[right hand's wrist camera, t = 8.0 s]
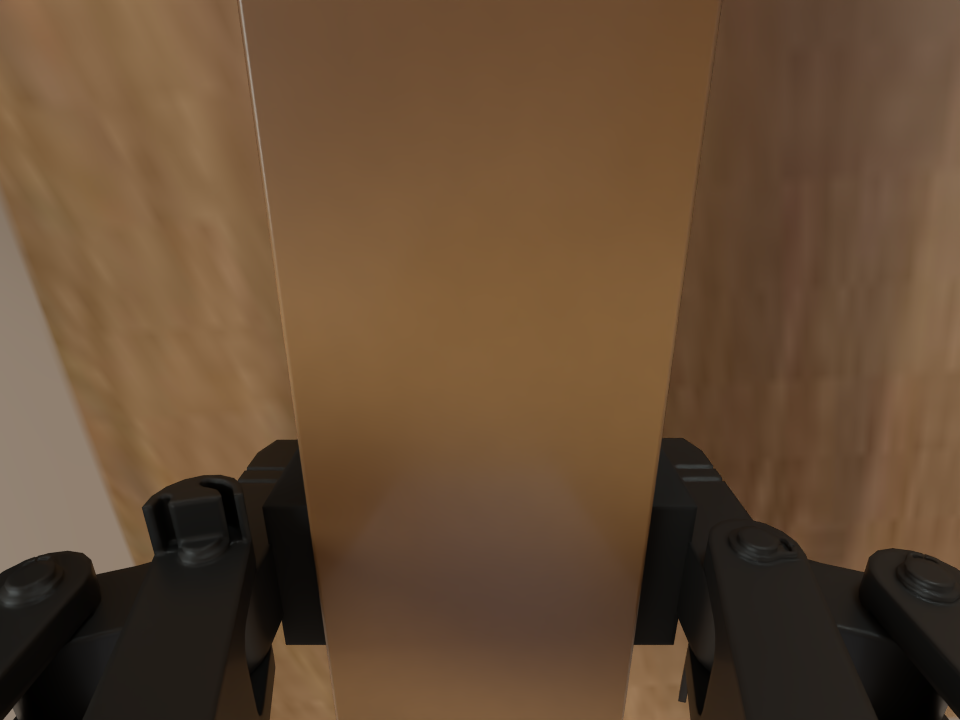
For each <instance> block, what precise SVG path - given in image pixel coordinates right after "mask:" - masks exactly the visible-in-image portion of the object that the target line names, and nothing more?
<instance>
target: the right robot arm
mask: <svg viewBox="0 0 960 720" xmlns="http://www.w3.org/2000/svg"><path fill="white" fill-rule="evenodd" d="M142 510H143V513H144V517H145V521H146V524H147V528H148V532H149V535H150V539H151V543H152V547H153V550H154V554H155V555H154V558H153V560H152V562H149V563H146V564H142V565H139V566H134V567H129V568H125V569H120V570H115V571H111V572H106V573H101V574H97V575H96V573H95V570H94V567H93V564H92V561H91V559H89V558H88V557H87V556H86V555H85V554H83V553H79V552H72V551H62V552H54V553H47V554H44V555H40V556H38V557H33V558H30V559H28V560H25V561H23V562H21V563H19V564H17V565H15V566H13V567H11V568H9V569H7V570H5V571H3V572H2V573H1V574H0V720H3V719H4V718H5V717H6V715H7V714H8V713H9V712H10V711H11V709H12V708H13V710H14V712H15V714H16V717H15V718H14V720H270V711H271V702H272V693H273V684H274V675H275V661H274V654H273V649H272V642H273V640H274V637H275V635H276V632H277V630H278V628H279V625H280V623H281V620H282V625H283V630H284V636H285V642H286V645H326V640H325V633H324V626H323V618H322V611H321V604H320V597H319V589H318V582H317V575H316V568H315V560H314V553H313V546H312V539H311V532H310V524H309V517H308V510H307V503H306V495H305V488H304V481H303V474H302V467H301V459H300V452H299V445H298V440H276V441H275V442H273V443H272V444H270V445H269V446H267V447H266V448H264V449H263V450H261V451H260V452H258V453H257V455H256V456H255V457H254V459H253V460H252V461H251V463H250V464H249V466H248V467H247V471H244V472H243V474H242V475H241V477H240V478H239V479H238V481H237V480H236V479H234V478H231V477H227V476H223V475H203V476H198V477H194V478H189V479H184V480H182V481H180V482H177V483H175V484H172V485H170V486H167V487H165V488H164V489H162V490H161V491H159V492H158V493H156V494H154V495H153V496H151V498H150V499H149V500H148V501H147V502H146V503H145V505H144V506H143V507H142ZM678 619H679V621H680V623H681V626H682V628H683V630H684V633H685V635H686V638H687V640H688V642H689V643H688V649H687V654H686V659H685V665H684V670H683V675H682V681H681V686H680V692H679V699H678V701H680V702H685V703H686V698H687V693H688V701H689V710H690V719H691V720H949V719H948V718H947V717H946V715H945V714H944V713H945V711H946V709H947V706H949V707H950V708H951V709H952V711H953V712H954V713H955V714H956V715H957V717H958V718H959V719H960V571H959V570H958V569H957V568H955V567H952V566H950V565H948V564H946V563H944V562H942V561H940V560H939V559H937V558H934V557H932V556H929V555H926V554H925V555H924V554H922V553H919V552H915V551H910V550H902V549H894V548H891V549H885V550H878V551H876V552H875V553H874V554H873V555H872V556H870V557H869V560H868V563H867V566H866V569H865V572H860V571H856V570H851V569H846V568H842V567H837V566H832V565H828V564H823V563H819V562H815V561H812V560H808V559H807V557H806V554H805V553H804V552H803V550H802V549H801V547H800V546H799V545H798V543H797V542H796V541H794V540H793V539H792V538H790V537H789V536H788V535H786V534H785V533H784V532H782V531H780V530H778V529H776V528H774V527H771V526H769V525H767V524H765V523H761V522H757V521H753V520H752V518H751V517H750V516H749V514H748V513H747V511H746V510H745V509H744V507H743V506H742V505H741V503H740V502H739V501H738V499H737V498H736V496H735V495H734V494H733V492H732V491H731V490H730V488H729V487H728V486H727V484H726V483H725V481H722V477H721V476H720V475H719V473H718V472H717V471H716V469H713V465H712V464H711V462H710V461H709V460H708V458H707V457H706V456H705V454H704V453H703V451H702V450H700V449H698V448H697V447H695V446H694V445H692V444H691V443H689V442H688V441H686V440H685V439H683V438H662V441H661V448H660V456H659V463H658V470H657V477H656V485H655V492H654V499H653V506H652V514H651V521H650V528H649V535H648V543H647V550H646V557H645V564H644V572H643V579H642V586H641V593H640V601H639V608H638V615H637V622H636V630H635V637H634V644H633V645H674V640H675V634H676V628H677V622H678Z"/></svg>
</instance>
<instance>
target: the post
mask: <svg viewBox="0 0 960 720" xmlns="http://www.w3.org/2000/svg"><path fill="white" fill-rule="evenodd" d="M237 4H238V11H239V18H240V26H241V33H242V40H243V47H244V55H245V62H246V69H247V76H248V83H249V91H250V98H251V105H252V112H253V120H254V127H255V134H256V141H257V149H258V156H259V163H260V170H261V177H262V185H263V192H264V199H265V206H266V214H267V221H268V228H269V235H270V242H271V250H272V257H273V264H274V271H275V279H276V286H277V293H278V300H279V308H280V315H281V322H282V329H283V336H284V344H285V351H286V358H287V365H288V373H289V380H290V387H291V394H292V401H293V409H294V416H295V423H296V430H297V438H298V445H299V452H300V459H301V467H302V474H303V481H304V488H305V495H306V503H307V510H308V517H309V524H310V532H311V539H312V546H313V553H314V560H315V568H316V575H317V582H318V589H319V597H320V604H321V611H322V618H323V626H324V633H325V640H326V647H327V654H328V662H329V669H330V676H331V683H332V691H333V698H334V705H335V712H336V720H623V717H624V709H625V702H626V695H627V688H628V680H629V673H630V666H631V659H632V651H633V644H634V637H635V630H636V622H637V615H638V608H639V601H640V593H641V586H642V579H643V572H644V564H645V557H646V550H647V543H648V535H649V528H650V521H651V514H652V506H653V499H654V492H655V485H656V477H657V470H658V463H659V456H660V448H661V441H662V434H663V427H664V419H665V412H666V405H667V398H668V390H669V383H670V376H671V369H672V361H673V354H674V347H675V340H676V332H677V325H678V318H679V311H680V303H681V296H682V289H683V282H684V274H685V267H686V260H687V253H688V245H689V238H690V231H691V224H692V216H693V209H694V202H695V195H696V188H697V180H698V173H699V166H700V159H701V151H702V144H703V137H704V130H705V122H706V115H707V108H708V101H709V93H710V86H711V79H712V72H713V64H714V57H715V50H716V43H717V35H718V28H719V21H720V14H721V6H722V0H237Z"/></svg>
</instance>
